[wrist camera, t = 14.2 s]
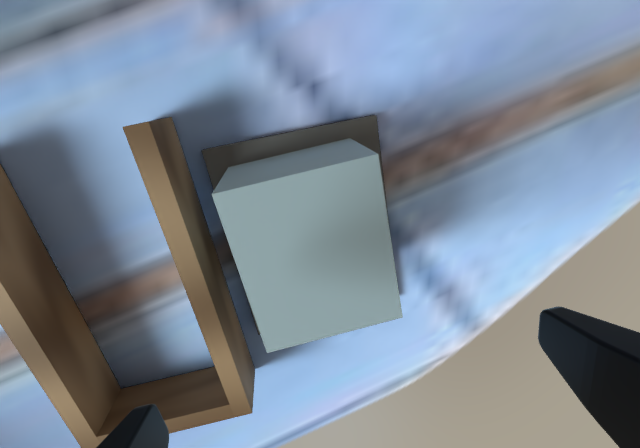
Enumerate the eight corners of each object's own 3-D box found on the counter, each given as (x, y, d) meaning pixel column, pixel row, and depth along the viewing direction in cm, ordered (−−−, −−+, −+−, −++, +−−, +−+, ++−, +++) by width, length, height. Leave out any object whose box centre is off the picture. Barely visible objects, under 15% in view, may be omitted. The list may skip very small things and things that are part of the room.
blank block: (228, 167, 14) (211, 194, 10) (349, 138, 14) (378, 153, 10) (268, 292, 16) (267, 353, 12) (372, 265, 16) (402, 317, 12)
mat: (203, 149, 14) (201, 150, 13) (373, 114, 14) (376, 115, 14) (258, 329, 17) (258, 334, 17) (394, 297, 17) (397, 302, 17)
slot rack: (-29, 156, 13) (-100, 170, 10) (171, 117, 13) (148, 121, 11) (111, 404, 17) (85, 454, 15) (255, 369, 18) (252, 412, 15)
